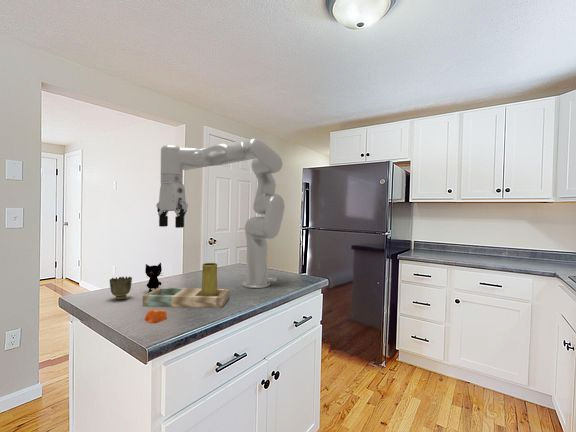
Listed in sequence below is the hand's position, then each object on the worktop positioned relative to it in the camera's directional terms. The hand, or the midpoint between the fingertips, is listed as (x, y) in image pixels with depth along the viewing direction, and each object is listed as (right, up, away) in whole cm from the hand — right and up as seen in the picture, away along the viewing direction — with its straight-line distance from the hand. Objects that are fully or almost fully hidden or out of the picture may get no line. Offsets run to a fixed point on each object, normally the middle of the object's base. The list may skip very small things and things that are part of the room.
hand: (171, 227), depth 107 cm
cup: (-20, -28, +3) cm, 35 cm away
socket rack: (+6, -28, +2) cm, 28 cm away
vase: (+14, -28, +1) cm, 31 cm away
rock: (+2, -29, -16) cm, 33 cm away
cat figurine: (-13, -28, +14) cm, 34 cm away
